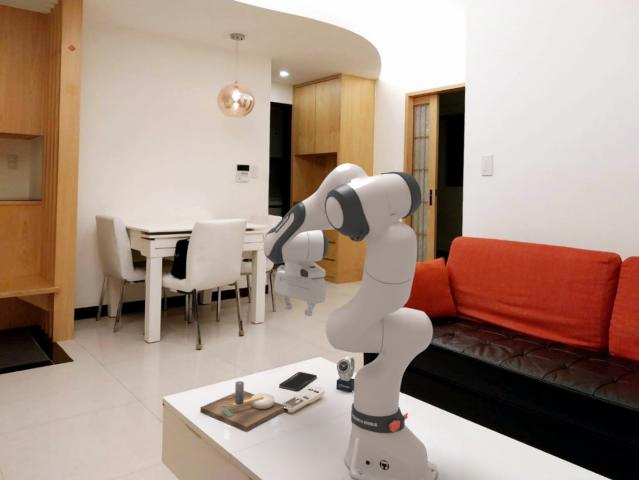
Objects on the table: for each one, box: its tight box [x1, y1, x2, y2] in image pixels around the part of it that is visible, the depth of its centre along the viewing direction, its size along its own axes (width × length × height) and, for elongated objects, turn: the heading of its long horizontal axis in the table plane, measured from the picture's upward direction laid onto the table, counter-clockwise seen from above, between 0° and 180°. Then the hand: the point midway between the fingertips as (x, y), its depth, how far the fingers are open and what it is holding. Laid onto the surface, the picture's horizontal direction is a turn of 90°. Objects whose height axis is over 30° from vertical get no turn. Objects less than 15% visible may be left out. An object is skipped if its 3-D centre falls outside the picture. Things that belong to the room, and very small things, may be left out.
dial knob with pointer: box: [232, 380, 275, 409], centre depth 146 cm, size 14×7×8 cm, turn 129°
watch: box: [335, 355, 356, 393], centre depth 166 cm, size 6×8×11 cm
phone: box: [278, 371, 318, 393], centre depth 171 cm, size 8×1×15 cm
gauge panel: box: [200, 390, 287, 433], centre depth 147 cm, size 19×17×2 cm
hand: (298, 312), depth 151 cm, fingers open, 8 cm apart
